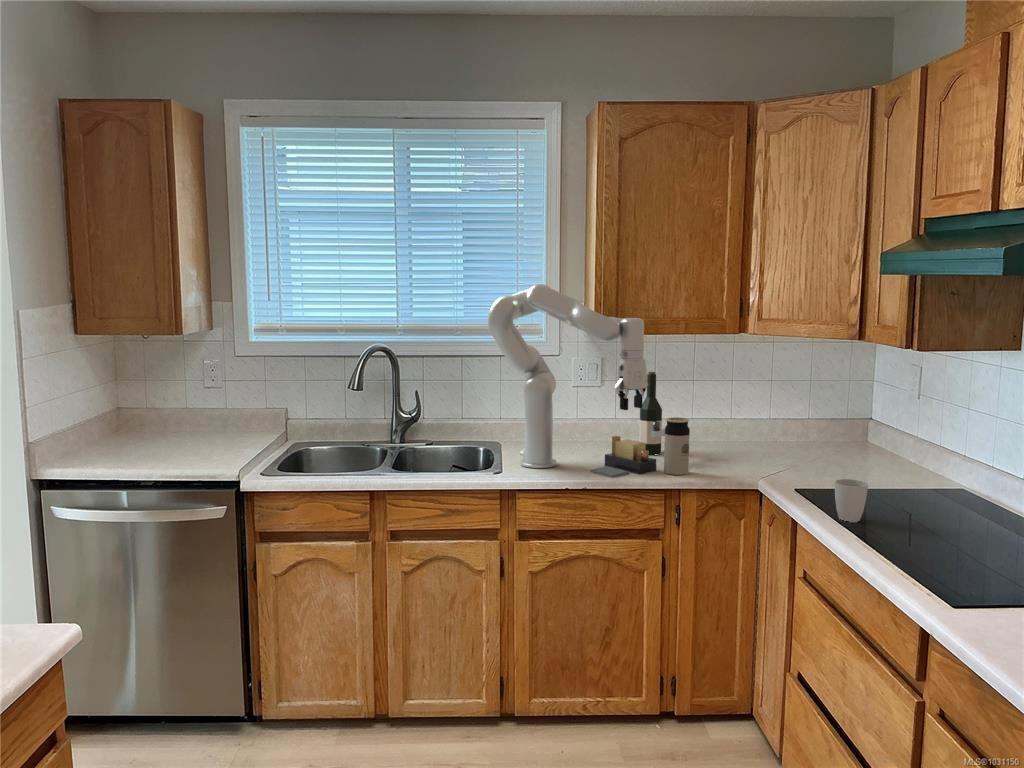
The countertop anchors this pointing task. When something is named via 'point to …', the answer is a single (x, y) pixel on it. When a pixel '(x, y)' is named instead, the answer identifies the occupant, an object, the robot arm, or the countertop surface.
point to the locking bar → (657, 430)
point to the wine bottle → (650, 417)
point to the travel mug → (676, 446)
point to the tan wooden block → (629, 449)
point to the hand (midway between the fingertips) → (631, 408)
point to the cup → (850, 499)
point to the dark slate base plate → (630, 461)
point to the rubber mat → (609, 471)
